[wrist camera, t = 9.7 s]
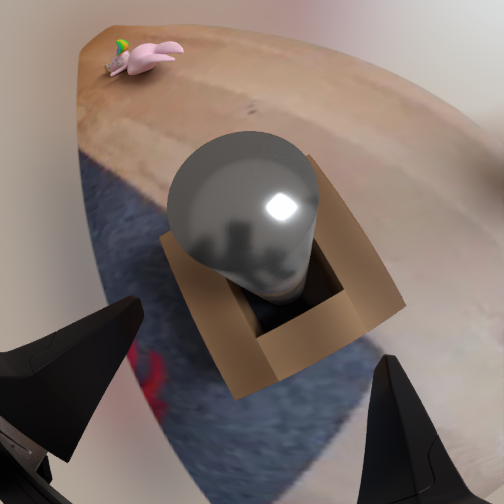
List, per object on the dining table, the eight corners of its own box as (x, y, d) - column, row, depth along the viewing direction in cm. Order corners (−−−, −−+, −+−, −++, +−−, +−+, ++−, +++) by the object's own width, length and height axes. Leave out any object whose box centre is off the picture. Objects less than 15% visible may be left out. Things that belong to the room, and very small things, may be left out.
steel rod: (271, 313, 17) (202, 301, 5) (250, 273, 18) (150, 177, 6) (313, 290, 17) (350, 219, 5) (290, 250, 18) (269, 111, 5)
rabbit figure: (105, 88, 29) (167, 85, 23) (81, 62, 24) (137, 45, 18) (133, 59, 30) (203, 50, 24) (113, 34, 24) (180, 12, 18)
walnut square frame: (248, 383, 16) (235, 400, 12) (184, 253, 19) (158, 237, 15) (383, 308, 16) (406, 305, 12) (308, 185, 19) (309, 154, 15)
